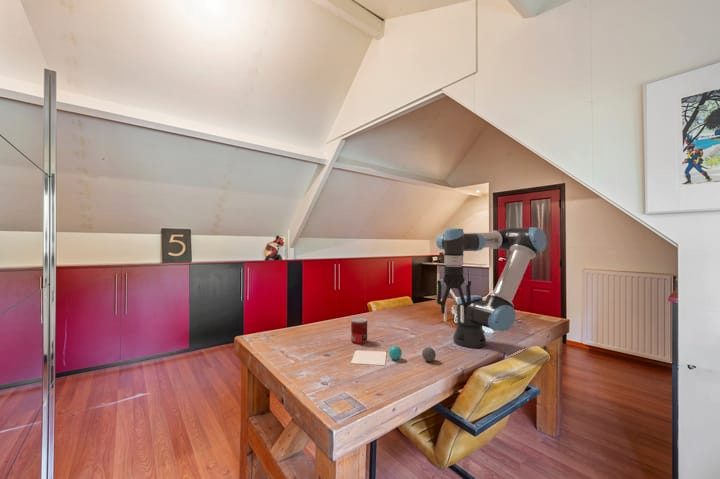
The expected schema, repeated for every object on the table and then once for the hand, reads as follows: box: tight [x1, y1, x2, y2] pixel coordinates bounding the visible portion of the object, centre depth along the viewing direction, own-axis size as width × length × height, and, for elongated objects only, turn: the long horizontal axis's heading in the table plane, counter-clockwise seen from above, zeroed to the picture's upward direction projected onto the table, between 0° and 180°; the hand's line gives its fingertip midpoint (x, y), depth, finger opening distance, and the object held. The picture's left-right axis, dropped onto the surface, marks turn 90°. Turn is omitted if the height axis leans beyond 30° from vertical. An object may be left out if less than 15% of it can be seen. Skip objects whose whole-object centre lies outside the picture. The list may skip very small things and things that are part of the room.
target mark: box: [350, 350, 387, 366], centre depth 127 cm, size 14×14×1 cm
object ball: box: [388, 345, 403, 361], centre depth 126 cm, size 6×6×6 cm
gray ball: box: [421, 347, 437, 362], centre depth 124 cm, size 6×6×6 cm
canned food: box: [350, 317, 368, 345], centre depth 147 cm, size 8×8×11 cm
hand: (453, 321), depth 122 cm, fingers open, 6 cm apart
